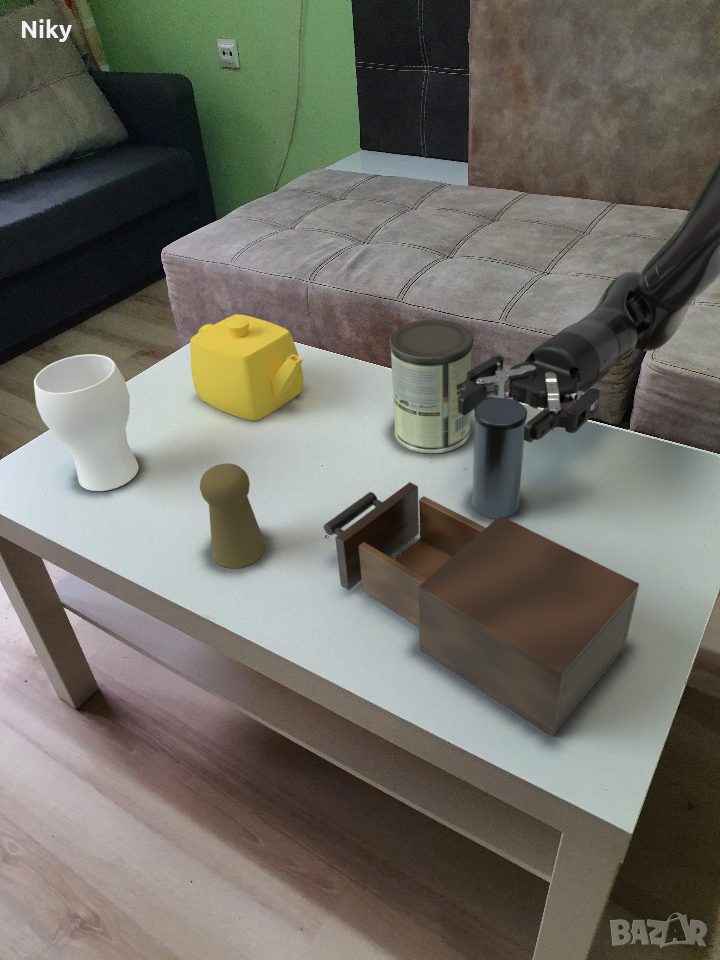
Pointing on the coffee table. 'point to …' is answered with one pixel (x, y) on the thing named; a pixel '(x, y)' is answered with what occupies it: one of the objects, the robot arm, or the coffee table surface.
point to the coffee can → (430, 384)
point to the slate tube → (498, 456)
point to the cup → (89, 417)
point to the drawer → (397, 546)
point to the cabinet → (526, 620)
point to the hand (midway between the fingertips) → (492, 420)
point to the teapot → (245, 366)
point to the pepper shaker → (231, 516)
